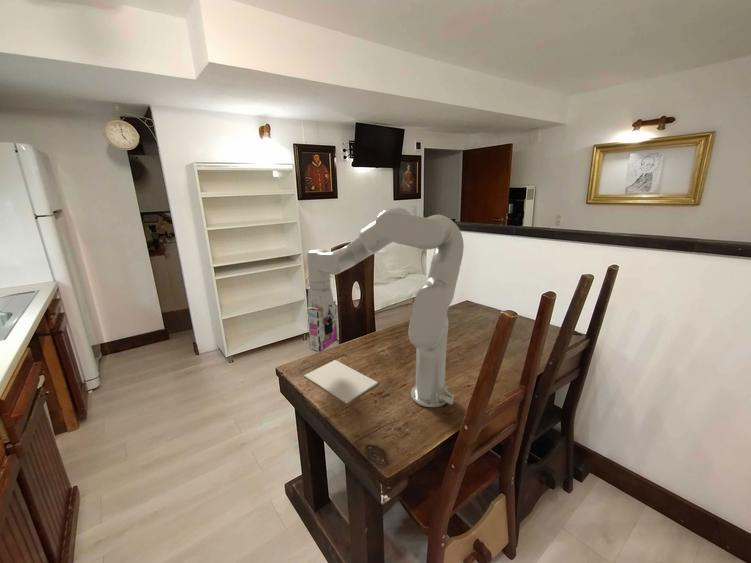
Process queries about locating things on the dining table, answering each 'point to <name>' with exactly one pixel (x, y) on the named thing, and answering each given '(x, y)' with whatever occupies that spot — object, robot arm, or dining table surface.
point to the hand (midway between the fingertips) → (323, 330)
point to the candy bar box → (320, 330)
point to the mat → (341, 381)
